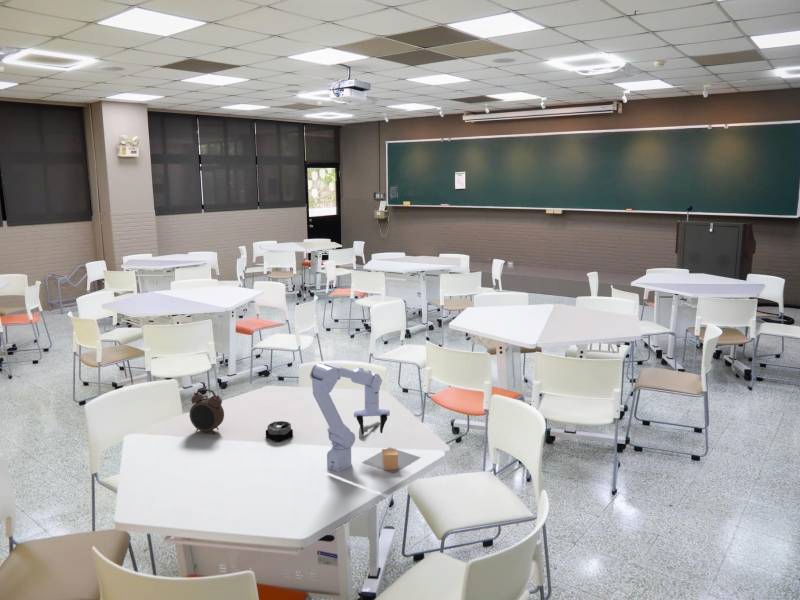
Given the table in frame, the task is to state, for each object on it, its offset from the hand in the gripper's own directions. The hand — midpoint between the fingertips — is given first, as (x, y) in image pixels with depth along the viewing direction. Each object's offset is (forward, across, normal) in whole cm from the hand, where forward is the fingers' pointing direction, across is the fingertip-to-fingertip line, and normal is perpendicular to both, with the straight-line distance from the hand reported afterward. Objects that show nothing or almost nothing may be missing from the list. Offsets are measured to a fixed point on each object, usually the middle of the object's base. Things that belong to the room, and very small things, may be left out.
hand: (371, 432), depth 250 cm
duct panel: (+9, -7, +8) cm, 15 cm away
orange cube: (+8, -6, +14) cm, 17 cm away
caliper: (+10, -2, -24) cm, 26 cm away
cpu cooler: (+10, +39, -23) cm, 46 cm away
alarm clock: (+10, +71, -32) cm, 78 cm away
